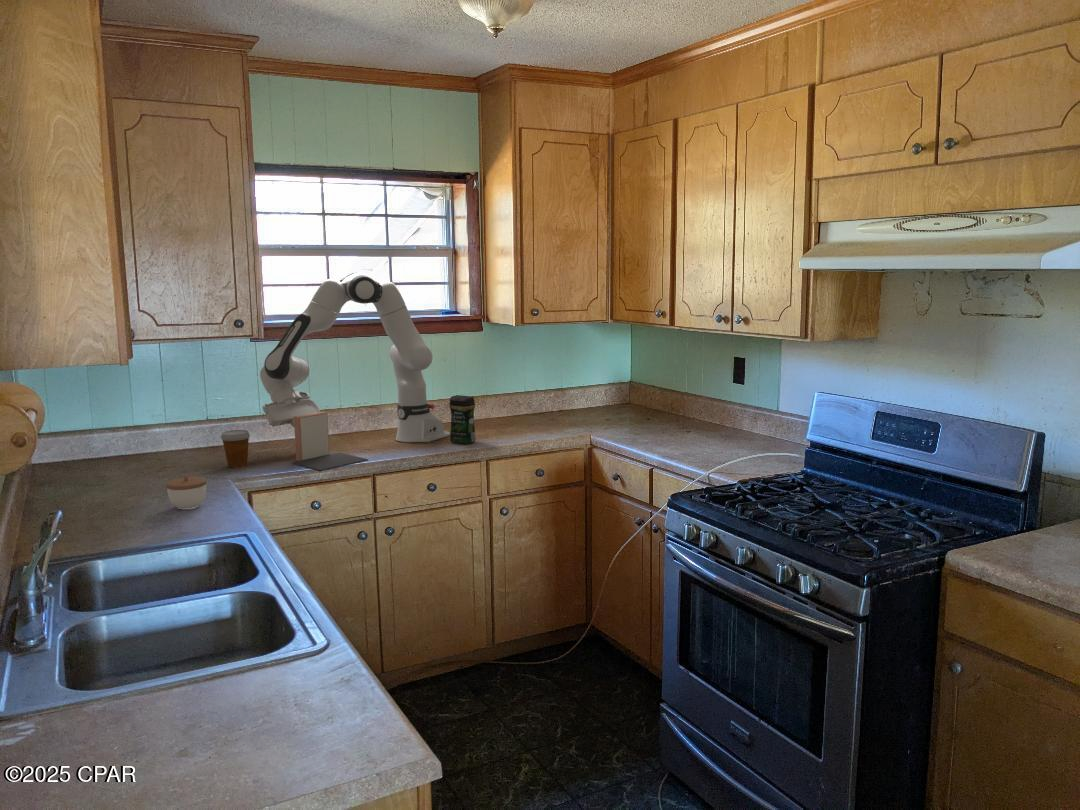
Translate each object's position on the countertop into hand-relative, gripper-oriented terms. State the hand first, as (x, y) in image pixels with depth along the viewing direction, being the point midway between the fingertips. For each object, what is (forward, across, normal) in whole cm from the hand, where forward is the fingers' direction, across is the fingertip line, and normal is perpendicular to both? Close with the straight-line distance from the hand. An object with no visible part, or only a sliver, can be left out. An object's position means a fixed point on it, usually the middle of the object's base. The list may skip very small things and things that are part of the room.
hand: (302, 430), depth 304 cm
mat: (+18, 0, -5) cm, 19 cm away
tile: (+11, 0, +2) cm, 11 cm away
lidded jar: (+29, -59, -15) cm, 67 cm away
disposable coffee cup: (+4, -24, +10) cm, 26 cm away
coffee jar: (+28, +52, -14) cm, 61 cm away
